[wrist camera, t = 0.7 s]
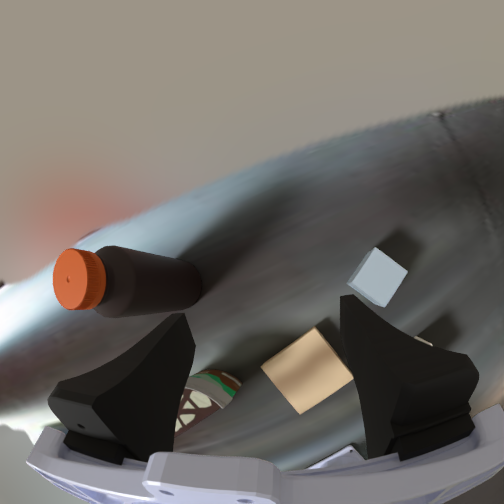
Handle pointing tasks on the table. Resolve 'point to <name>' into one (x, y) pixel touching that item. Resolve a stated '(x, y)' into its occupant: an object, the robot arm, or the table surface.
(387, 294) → the slate block
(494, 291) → the table surface
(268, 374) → the oak slab
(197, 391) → the food container
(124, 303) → the bottle
